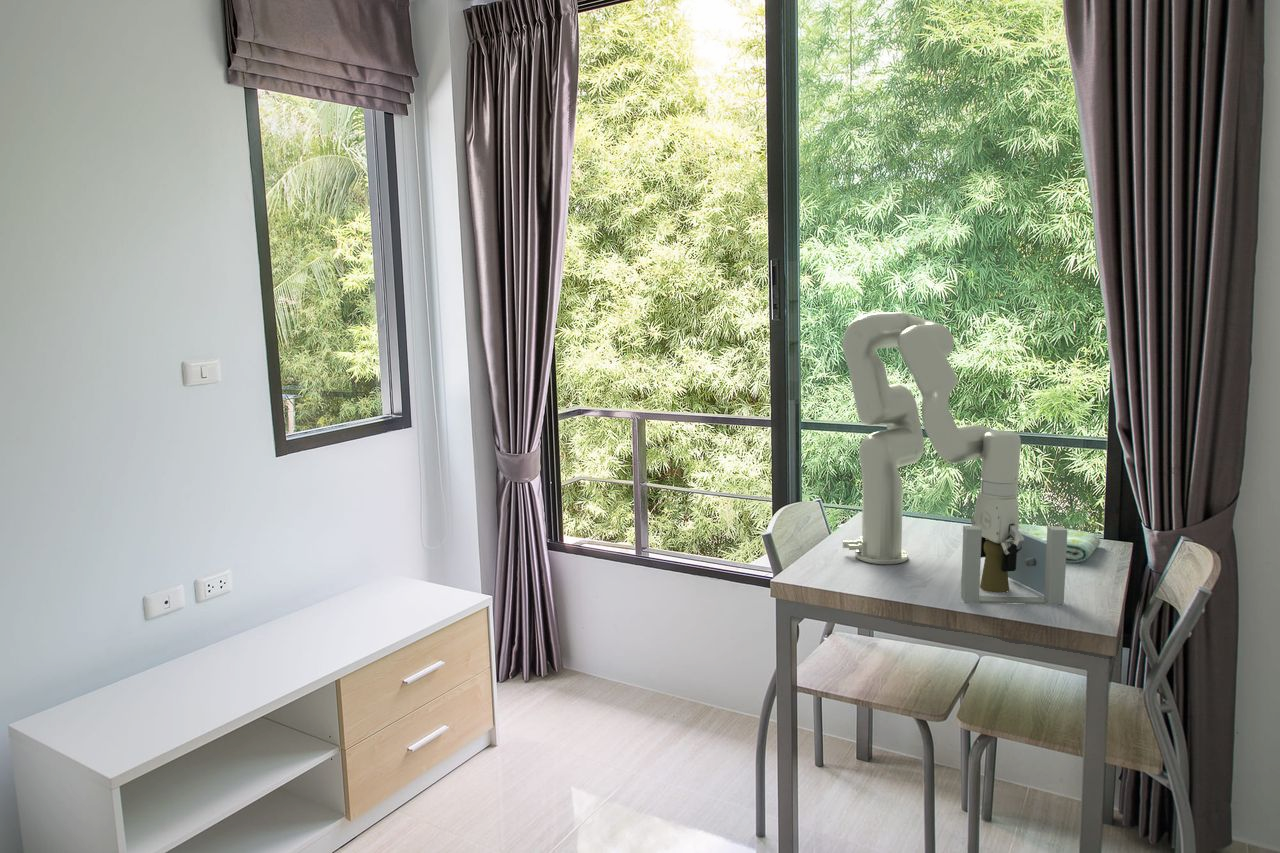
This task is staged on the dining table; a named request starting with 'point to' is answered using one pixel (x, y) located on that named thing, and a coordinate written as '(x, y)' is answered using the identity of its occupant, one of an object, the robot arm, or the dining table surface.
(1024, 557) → the door
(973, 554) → the door frame
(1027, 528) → the towel
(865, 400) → the robot arm
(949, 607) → the dining table surface
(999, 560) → the cork
